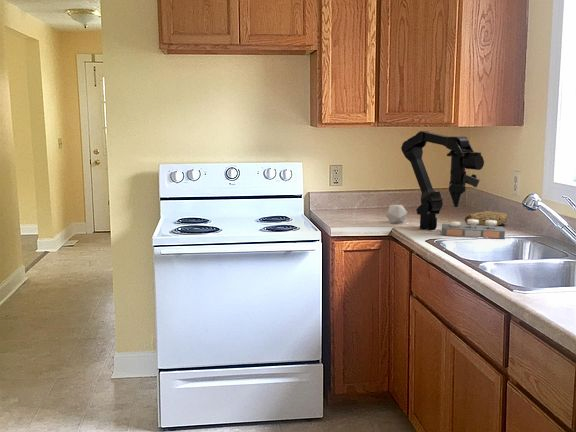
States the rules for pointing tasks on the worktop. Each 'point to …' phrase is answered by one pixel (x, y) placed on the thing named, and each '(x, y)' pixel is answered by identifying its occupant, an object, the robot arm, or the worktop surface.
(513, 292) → the worktop surface
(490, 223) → the button right
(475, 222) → the button middle
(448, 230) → the board
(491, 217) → the sponge
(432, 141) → the robot arm
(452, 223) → the button left
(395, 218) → the die
